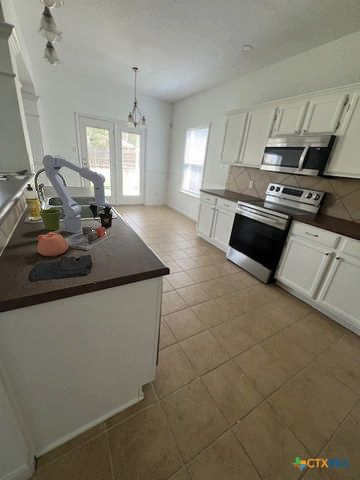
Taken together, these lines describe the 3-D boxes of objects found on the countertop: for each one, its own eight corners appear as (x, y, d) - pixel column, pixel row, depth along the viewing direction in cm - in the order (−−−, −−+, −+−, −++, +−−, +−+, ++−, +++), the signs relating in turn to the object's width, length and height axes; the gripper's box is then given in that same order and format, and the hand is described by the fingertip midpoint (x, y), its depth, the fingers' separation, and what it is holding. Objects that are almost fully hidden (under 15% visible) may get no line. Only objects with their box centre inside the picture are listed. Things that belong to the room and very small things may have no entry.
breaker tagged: (88, 239, 109) (87, 233, 108) (92, 237, 113) (92, 231, 112) (93, 240, 109) (92, 234, 107) (97, 238, 112) (97, 232, 111)
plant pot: (36, 230, 122) (33, 211, 118) (53, 224, 132) (50, 208, 128) (52, 233, 119) (49, 214, 115) (67, 227, 130) (65, 210, 126)
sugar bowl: (55, 260, 89) (52, 239, 86) (28, 255, 91) (24, 234, 88) (74, 249, 100) (72, 230, 97) (50, 245, 103) (46, 226, 99)
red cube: (95, 235, 116) (94, 228, 114) (99, 233, 119) (98, 226, 118) (101, 236, 115) (100, 229, 113) (105, 234, 119) (104, 227, 117)
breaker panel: (57, 244, 104) (56, 241, 103) (87, 231, 126) (87, 228, 125) (87, 250, 101) (87, 246, 100) (113, 235, 123) (113, 232, 122)
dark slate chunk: (36, 264, 86) (34, 254, 84) (92, 259, 94) (91, 249, 92) (27, 284, 73) (24, 272, 71) (93, 275, 81) (92, 265, 79)
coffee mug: (115, 225, 142) (114, 211, 138) (110, 228, 134) (109, 214, 130) (99, 223, 143) (98, 209, 139) (93, 227, 135) (92, 212, 131)
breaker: (82, 233, 118) (82, 227, 116) (87, 231, 121) (86, 225, 120) (87, 234, 117) (86, 228, 116) (91, 232, 121) (91, 226, 119)
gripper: (84, 195, 116) (86, 217, 121) (106, 198, 113) (108, 221, 118) (92, 193, 122) (93, 215, 127) (113, 196, 119) (114, 218, 124)
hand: (101, 218), depth 123 cm, fingers open, 7 cm apart
